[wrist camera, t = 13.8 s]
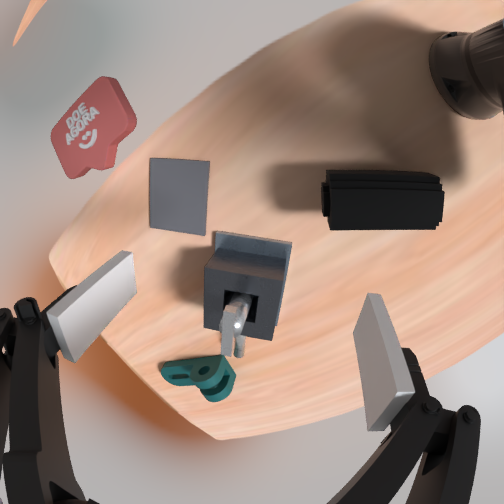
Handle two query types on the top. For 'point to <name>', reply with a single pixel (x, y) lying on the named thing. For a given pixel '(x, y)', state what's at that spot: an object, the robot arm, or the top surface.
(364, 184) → the security camera
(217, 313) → the hollow square block
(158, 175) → the mat
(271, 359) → the top surface
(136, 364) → the top surface
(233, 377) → the bracket
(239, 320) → the silver grey long piece
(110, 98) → the plaque
